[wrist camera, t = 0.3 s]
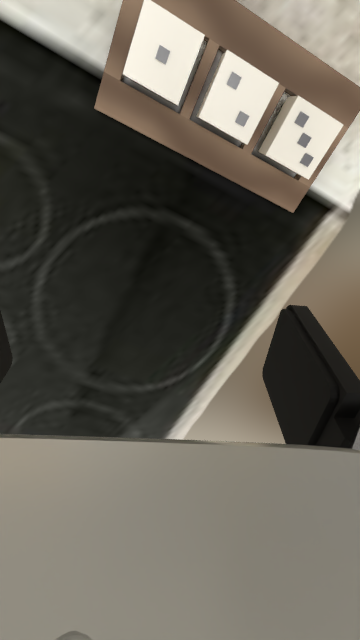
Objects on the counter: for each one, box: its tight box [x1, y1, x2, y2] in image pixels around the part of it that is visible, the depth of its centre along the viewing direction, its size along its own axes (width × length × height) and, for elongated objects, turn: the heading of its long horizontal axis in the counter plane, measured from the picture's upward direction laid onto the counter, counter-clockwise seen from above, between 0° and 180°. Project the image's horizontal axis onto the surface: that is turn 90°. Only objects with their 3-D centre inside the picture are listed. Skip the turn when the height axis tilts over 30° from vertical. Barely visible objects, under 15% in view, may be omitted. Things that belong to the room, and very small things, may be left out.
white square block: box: [258, 96, 343, 180], centre depth 30 cm, size 5×5×3 cm
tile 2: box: [196, 50, 279, 145], centre depth 28 cm, size 5×5×3 cm
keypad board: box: [94, 0, 360, 213], centre depth 30 cm, size 12×23×2 cm, turn 65°
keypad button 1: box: [123, 0, 205, 106], centre depth 26 cm, size 5×5×3 cm
